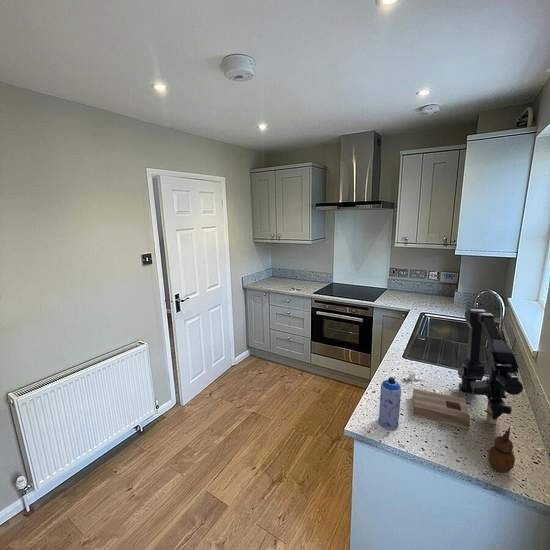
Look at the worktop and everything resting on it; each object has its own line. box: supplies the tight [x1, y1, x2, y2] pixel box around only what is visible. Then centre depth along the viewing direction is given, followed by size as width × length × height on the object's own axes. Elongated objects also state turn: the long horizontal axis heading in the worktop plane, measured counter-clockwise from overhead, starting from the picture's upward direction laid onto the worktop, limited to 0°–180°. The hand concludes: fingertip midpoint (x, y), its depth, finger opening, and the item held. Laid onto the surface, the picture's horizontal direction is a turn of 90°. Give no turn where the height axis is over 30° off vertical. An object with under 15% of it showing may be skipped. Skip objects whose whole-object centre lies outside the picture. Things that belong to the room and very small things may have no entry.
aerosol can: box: [377, 376, 402, 431], centre depth 117 cm, size 8×8×20 cm
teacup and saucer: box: [405, 371, 423, 385], centre depth 149 cm, size 9×8×4 cm
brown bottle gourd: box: [487, 427, 516, 474], centre depth 96 cm, size 7×6×15 cm
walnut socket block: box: [412, 387, 471, 430], centre depth 125 cm, size 14×20×4 cm
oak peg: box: [485, 398, 498, 425], centre depth 118 cm, size 4×4×9 cm
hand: (492, 414), depth 119 cm, fingers open, 5 cm apart
